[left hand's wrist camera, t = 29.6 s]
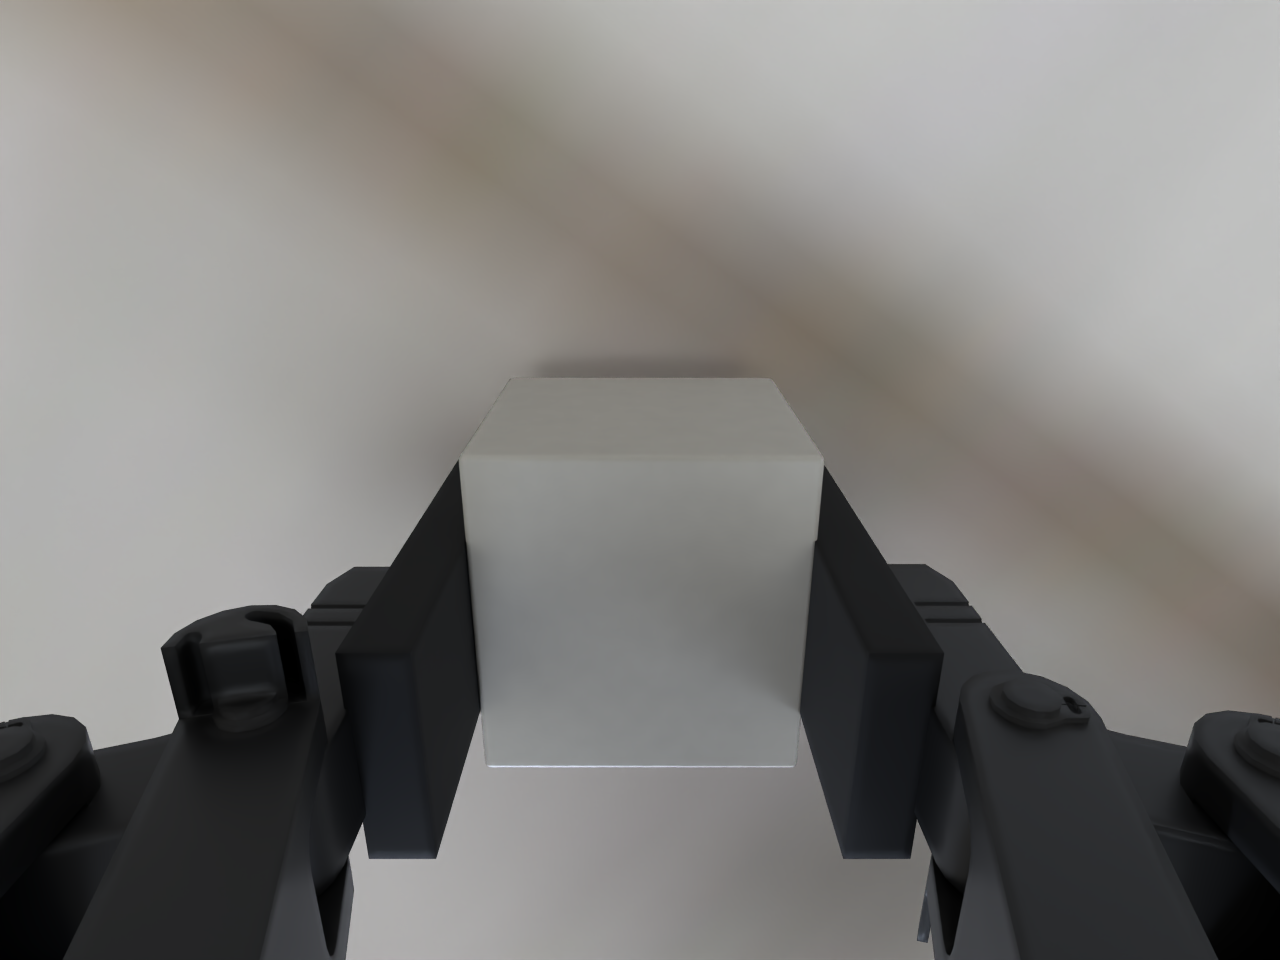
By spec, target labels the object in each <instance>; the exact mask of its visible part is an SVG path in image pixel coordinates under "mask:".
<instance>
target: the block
mask: <svg viewBox="0 0 1280 960" xmlns="http://www.w3.org/2000/svg"><path fill="white" fill-rule="evenodd" d="M459 469H460V481H461V492H462V503H463V515H464V526H465V538H466V549H467V560H468V572H469V583H470V594H471V606H472V617H473V629H474V640H475V651H476V663H477V674H478V686H479V697H480V708H481V720H482V731H483V743H484V754H485V762H486V765H487V766H489V767H794V766H795V765H796V763H797V755H798V744H799V733H800V722H801V715H800V704H801V693H802V682H803V670H804V659H805V648H806V637H807V626H808V614H809V603H810V592H811V581H812V570H813V558H814V547H815V541H816V540H817V536H818V525H819V514H820V503H821V492H822V481H823V470H824V458H823V455H822V454H821V452H820V451H819V449H818V448H817V446H816V445H815V443H814V442H813V440H812V439H811V437H810V436H809V434H808V433H807V431H806V430H805V428H804V427H803V425H802V424H801V422H800V421H799V419H798V418H797V416H796V415H795V413H794V412H793V410H792V409H791V407H790V405H789V404H788V402H787V401H786V399H785V398H784V396H783V395H782V393H781V392H780V390H779V389H778V387H777V386H776V384H775V383H774V381H773V380H772V379H770V378H512V379H510V380H509V381H508V383H507V384H506V386H505V388H504V389H503V391H502V392H501V394H500V395H499V397H498V398H497V400H496V401H495V403H494V404H493V406H492V408H491V409H490V411H489V412H488V414H487V415H486V417H485V418H484V420H483V421H482V423H481V424H480V426H479V428H478V429H477V431H476V432H475V434H474V435H473V437H472V438H471V440H470V441H469V443H468V445H467V446H466V448H465V449H464V451H463V452H462V454H461V455H460V458H459Z"/></svg>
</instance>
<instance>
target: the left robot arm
mask: <svg viewBox="0 0 1280 960" xmlns="http://www.w3.org/2000/svg"><path fill="white" fill-rule="evenodd" d="M968 603H969V602H968V600H967V599H966V598H965V597H964V595H963V594H962V593H961V591H960V590H959V589H958V588H957V586H956V585H955V584H954V582H953V581H951V580H950V579H948V578H946V577H945V576H943V575H942V574H940V573H938V572H937V571H935V570H934V569H932V568H930V567H929V566H927V565H926V564H887V563H886V561H885V559H884V558H883V556H882V555H881V553H880V552H879V550H878V548H877V547H876V545H875V544H874V542H873V541H872V539H871V537H870V536H869V534H868V533H867V531H866V530H865V528H864V527H863V525H862V523H861V522H860V520H859V519H858V517H857V516H856V514H855V512H854V511H853V509H852V508H851V506H850V505H849V503H848V501H847V500H846V498H845V497H844V495H843V494H842V492H841V491H840V489H839V487H838V486H837V484H836V483H835V481H834V480H833V478H832V476H831V475H830V473H829V472H828V470H827V469H826V467H825V465H824V470H823V481H822V492H821V503H820V514H819V525H818V536H817V540H816V541H815V547H814V558H813V570H812V581H811V592H810V603H809V614H808V626H807V637H806V648H805V659H804V670H803V682H802V693H801V704H800V715H801V718H802V722H803V725H804V728H805V732H806V735H807V738H808V742H809V745H810V749H811V752H812V755H813V759H814V762H815V765H816V769H817V772H818V775H819V779H820V782H821V785H822V789H823V792H824V796H825V799H826V802H827V806H828V809H829V812H830V816H831V819H832V822H833V826H834V829H835V832H836V836H837V839H838V843H839V846H840V849H841V853H842V856H843V859H910V858H911V852H912V846H913V840H914V834H915V828H916V822H917V820H918V822H919V825H920V827H921V829H922V832H923V834H924V836H925V839H926V841H927V843H928V846H929V848H930V850H931V852H932V855H931V861H930V866H929V872H928V878H927V883H926V889H925V894H924V900H923V906H922V911H921V917H920V922H919V929H918V937H917V941H921V942H926V943H928V938H929V933H930V927H931V933H932V941H933V949H934V958H935V960H1280V719H1278V718H1276V719H1274V718H1272V717H1271V716H1267V715H1262V714H1257V713H1246V712H1237V711H1222V712H1215V713H1209V714H1205V715H1204V716H1203V717H1202V718H1200V719H1199V720H1198V721H1197V722H1196V723H1194V727H1193V730H1192V733H1191V736H1190V739H1189V742H1188V746H1187V747H1185V746H1180V745H1175V744H1170V743H1165V742H1160V741H1155V740H1150V739H1145V738H1140V737H1135V736H1130V735H1125V734H1121V733H1117V732H1113V731H1110V730H1107V729H1106V727H1105V725H1104V723H1103V721H1102V719H1101V717H1100V716H1099V715H1098V714H1097V712H1096V711H1095V710H1094V708H1093V707H1092V706H1091V705H1090V703H1089V702H1088V701H1086V700H1085V699H1083V698H1082V697H1081V696H1079V695H1078V694H1076V693H1075V692H1073V691H1072V690H1070V689H1069V688H1067V687H1065V686H1063V685H1060V684H1058V683H1056V682H1053V681H1051V680H1049V679H1046V678H1044V677H1041V676H1037V675H1032V674H1028V673H1023V672H1022V670H1021V669H1020V668H1019V666H1018V665H1017V664H1016V663H1015V661H1014V660H1013V659H1012V657H1011V656H1010V655H1009V653H1008V652H1007V651H1006V650H1005V648H1004V647H1003V646H1002V644H1001V643H1000V642H999V641H998V639H997V638H996V637H995V635H994V634H993V633H992V631H991V630H990V629H989V628H988V626H987V625H986V624H985V623H982V621H981V620H982V619H981V617H980V616H979V615H978V613H977V612H976V611H975V610H974V608H973V607H972V606H969V604H968ZM161 651H162V655H163V659H164V663H165V667H166V670H167V674H168V678H169V682H170V686H171V690H172V694H173V697H174V701H175V705H176V709H177V713H178V717H179V720H178V722H177V724H176V726H175V729H174V731H173V733H172V734H168V735H164V736H161V737H157V738H153V739H148V740H143V741H138V742H133V743H128V744H123V745H118V746H113V747H108V748H103V749H98V750H93V748H92V745H91V742H90V739H89V736H88V732H87V729H86V727H85V726H84V725H83V724H81V723H80V722H79V721H78V720H76V719H75V718H74V717H67V716H61V715H54V714H50V715H41V716H32V717H22V718H18V719H13V720H9V722H6V723H5V722H2V723H0V960H345V959H346V951H347V943H348V935H349V927H350V919H351V910H352V902H353V894H354V886H353V879H352V872H351V866H350V861H349V853H350V850H351V848H352V846H353V843H354V841H355V839H356V837H357V834H358V832H359V830H360V827H361V825H362V823H363V825H364V831H365V837H366V843H367V849H368V855H369V859H436V857H437V854H438V851H439V847H440V844H441V840H442V837H443V834H444V830H445V827H446V824H447V820H448V817H449V814H450V810H451V807H452V804H453V800H454V797H455V793H456V790H457V787H458V783H459V780H460V777H461V773H462V770H463V767H464V763H465V760H466V757H467V753H468V750H469V747H470V743H471V740H472V736H473V733H474V730H475V726H476V723H477V720H478V716H479V713H480V710H481V708H480V697H479V686H478V674H477V663H476V651H475V640H474V629H473V617H472V606H471V594H470V583H469V572H468V560H467V549H466V538H465V526H464V515H463V503H462V492H461V481H460V469H459V460H458V461H457V463H456V464H455V466H454V468H453V469H452V471H451V472H450V474H449V475H448V477H447V479H446V480H445V482H444V483H443V485H442V486H441V488H440V490H439V491H438V493H437V494H436V496H435V497H434V499H433V500H432V502H431V504H430V505H429V507H428V508H427V510H426V511H425V513H424V515H423V516H422V518H421V519H420V521H419V522H418V524H417V525H416V527H415V529H414V530H413V532H412V533H411V535H410V536H409V538H408V540H407V541H406V543H405V544H404V546H403V547H402V549H401V551H400V552H399V554H398V555H397V557H396V558H395V560H394V561H393V563H392V565H391V566H390V567H353V568H352V569H350V570H349V571H347V572H346V573H344V574H342V575H341V576H339V577H338V578H336V579H334V580H333V581H331V582H330V583H328V584H327V585H326V586H325V587H324V589H323V590H322V591H321V593H320V594H319V595H318V596H317V598H316V599H315V600H314V602H313V603H312V604H311V609H307V611H306V612H305V613H304V615H301V614H300V613H299V612H297V611H296V610H295V609H291V608H286V607H282V606H277V605H252V606H246V607H240V608H235V609H230V610H225V611H221V612H219V613H216V614H213V615H210V616H208V617H205V618H202V619H199V620H197V621H195V622H193V623H191V624H190V625H188V626H186V627H185V628H183V629H181V630H180V631H178V632H176V633H175V634H174V635H173V636H172V637H171V638H170V639H169V640H168V641H167V642H166V643H165V644H164V645H163V646H162V647H161Z"/></svg>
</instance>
